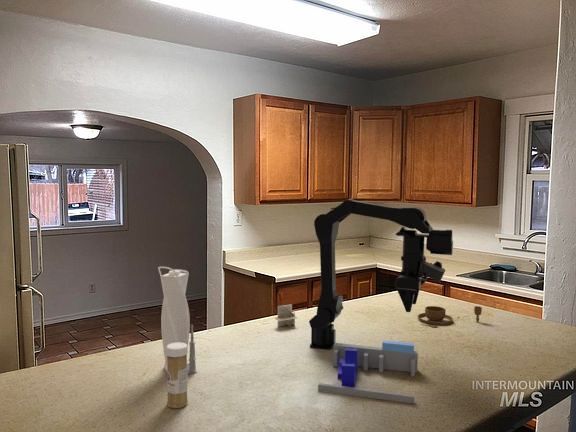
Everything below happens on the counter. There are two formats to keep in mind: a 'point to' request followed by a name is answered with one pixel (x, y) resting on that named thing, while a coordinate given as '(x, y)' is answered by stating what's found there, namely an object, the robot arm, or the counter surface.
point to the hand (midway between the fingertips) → (411, 308)
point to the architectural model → (285, 315)
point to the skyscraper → (176, 314)
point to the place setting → (441, 316)
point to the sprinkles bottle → (177, 374)
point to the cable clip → (348, 368)
